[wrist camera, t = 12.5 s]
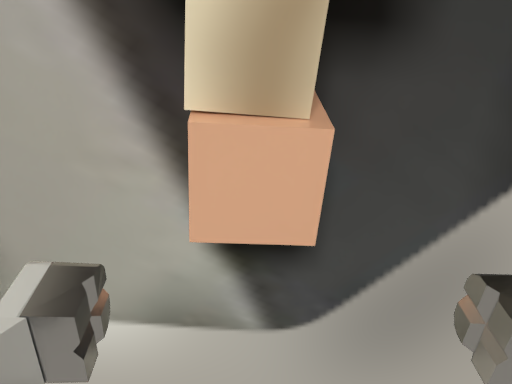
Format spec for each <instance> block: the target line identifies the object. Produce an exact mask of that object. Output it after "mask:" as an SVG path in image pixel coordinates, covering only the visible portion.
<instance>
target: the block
mask: <svg viewBox="0 0 512 384" xmlns="http://www.w3.org/2000/svg"><path fill="white" fill-rule="evenodd" d="M334 130H335V129H334V127H333V125H332V123H331V121H330V119H329V117H328V115H327V114H326V112H325V110H324V108H323V106H322V104H321V102H320V100H319V98H318V96H317V94H316V92H315V90H314V95H313V101H312V107H311V113H310V119H300V118H287V117H274V116H261V115H248V114H234V113H221V112H208V111H195V110H191V113H190V116H189V120H188V163H189V238H190V242H205V243H237V244H270V245H302V246H315V243H316V237H317V231H318V225H319V219H320V213H321V207H322V201H323V195H324V190H325V184H326V178H327V172H328V166H329V160H330V154H331V148H332V142H333V136H334Z"/></svg>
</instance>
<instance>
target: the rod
mask: <svg viewBox="0 0 512 384" xmlns="http://www.w3.org/2000/svg"><path fill="white" fill-rule="evenodd" d="M328 4H329V0H185V82H184V110H195V111H208V112H221V113H234V114H248V115H261V116H274V117H287V118H300V119H310V113H311V107H312V101H313V95H314V89H315V83H316V77H317V71H318V65H319V59H320V52H321V46H322V40H323V34H324V28H325V22H326V16H327V10H328Z"/></svg>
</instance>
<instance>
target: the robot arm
mask: <svg viewBox="0 0 512 384" xmlns="http://www.w3.org/2000/svg"><path fill="white" fill-rule="evenodd" d="M105 281H106V273H105V268H104V266H103V265H101V264H88V263H68V262H39V261H31V262H29V263H27V264H25V265H24V267H23V268H22V270H21V271H20V273H19V274H18V276H17V277H16V278H15V280H14V281H13V283H12V284H11V286H10V287H9V289H8V290H7V291H6V293H5V294H4V296H3V297H2V299H1V300H0V384H45V383H62V382H63V383H64V382H88V381H89V378H90V376H91V373H92V370H93V368H94V365H95V362H96V359H97V356H98V351H97V346H96V344H97V343H98V342H99V341H100V340H102V339H103V338H104V337H105V334H106V331H107V328H108V323H109V316H110V299H109V294H108V293H107V292H106V291H105V290H104V289H103V286H104V284H105ZM464 289H465V291H466V293H467V296H465V297H464V298H463V299H461V300H460V301H459V302H458V303H457V306H456V309H455V312H454V325H455V329H456V333H457V335H458V337H459V339H460V341H461V343H462V344H463V345H464V346H466V347H467V348H468V349H470V350H471V351H472V352H473V356H472V360H471V361H472V363H473V364H474V366H475V368H476V370H477V372H478V374H479V375H480V377H481V379H482V381H483V383H484V384H512V275H498V274H472V275H470V276H469V278H467V280H466V283H465V285H464Z"/></svg>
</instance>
